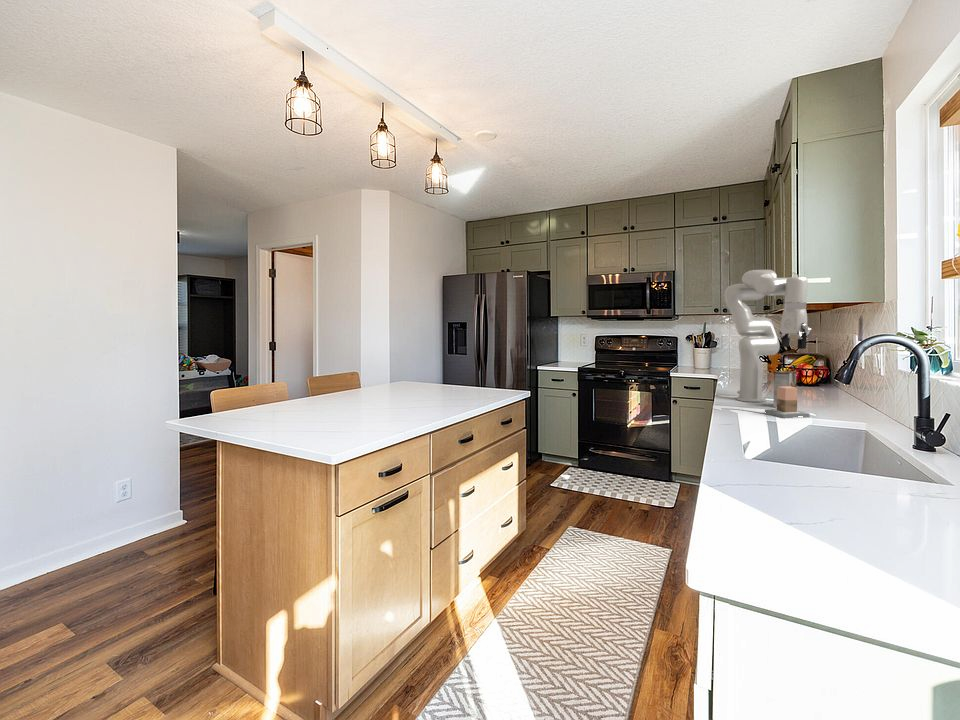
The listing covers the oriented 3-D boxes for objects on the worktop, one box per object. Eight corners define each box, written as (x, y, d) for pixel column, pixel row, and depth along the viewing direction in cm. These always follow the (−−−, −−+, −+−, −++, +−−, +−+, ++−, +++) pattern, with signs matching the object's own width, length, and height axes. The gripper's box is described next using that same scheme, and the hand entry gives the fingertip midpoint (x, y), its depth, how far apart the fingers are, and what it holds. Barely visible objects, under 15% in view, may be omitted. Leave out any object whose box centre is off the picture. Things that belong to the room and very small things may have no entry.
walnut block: (776, 410, 193) (776, 398, 192) (788, 409, 193) (788, 398, 192) (785, 412, 188) (785, 400, 187) (796, 412, 188) (797, 400, 187)
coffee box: (780, 404, 213) (781, 370, 212) (796, 406, 208) (797, 371, 207) (772, 407, 208) (773, 372, 206) (789, 409, 203) (790, 373, 201)
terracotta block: (776, 398, 192) (777, 386, 192) (788, 398, 192) (788, 386, 192) (785, 400, 187) (785, 388, 187) (797, 400, 188) (797, 387, 187)
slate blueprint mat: (764, 413, 195) (764, 409, 195) (789, 412, 196) (789, 408, 196) (783, 418, 184) (783, 414, 184) (809, 417, 185) (809, 413, 185)
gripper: (772, 307, 200) (770, 346, 202) (801, 306, 183) (799, 349, 185) (789, 306, 200) (787, 345, 202) (819, 306, 183) (817, 349, 185)
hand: (793, 347), depth 194 cm, fingers open, 9 cm apart
